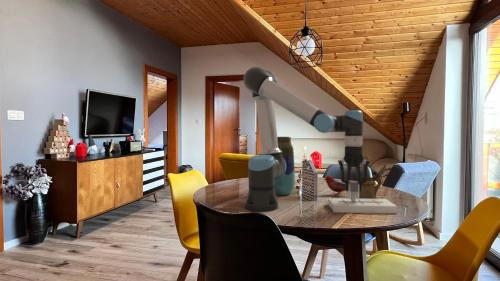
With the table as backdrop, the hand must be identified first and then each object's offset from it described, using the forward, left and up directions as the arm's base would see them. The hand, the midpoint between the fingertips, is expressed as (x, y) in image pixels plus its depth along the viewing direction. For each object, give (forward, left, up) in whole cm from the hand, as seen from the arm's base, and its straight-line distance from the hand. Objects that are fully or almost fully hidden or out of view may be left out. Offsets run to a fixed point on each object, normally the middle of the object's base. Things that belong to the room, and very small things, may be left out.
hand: (353, 198), depth 141 cm
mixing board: (+3, 0, -5) cm, 6 cm away
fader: (0, 0, -2) cm, 2 cm away
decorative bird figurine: (0, +29, -5) cm, 29 cm away
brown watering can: (+13, +18, -5) cm, 23 cm away
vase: (-31, +31, -5) cm, 44 cm away
